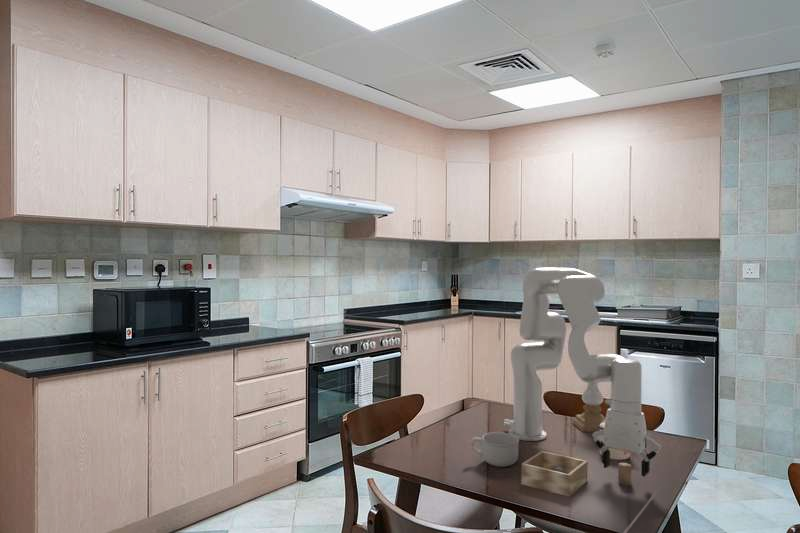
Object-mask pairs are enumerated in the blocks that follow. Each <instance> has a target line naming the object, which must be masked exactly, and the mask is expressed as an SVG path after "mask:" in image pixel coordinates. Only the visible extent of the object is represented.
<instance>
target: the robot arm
mask: <svg viewBox="0 0 800 533" xmlns="http://www.w3.org/2000/svg"><path fill="white" fill-rule="evenodd" d="M522 294H523V302H522V308H521V315H520V322H519V335H520V338H522V339H523V340H525V341H528V342H525V343H523V342H522V343H520V344H517V345H515V346H513V348H512V350H511V352H510V361H511V362H510V363H511V366H512V376H513V412H512V413H513V420H510V419H508V418H505V419H503V426H504V427H509V428H510V429H509V430H508V434H512V435H514V436H516V437H517V438H518V439H519V441H525V442H526V441H527V442H536V441H542V440H545V439H546V438H547V435H548V434H547V432H546V431H544V429H543V384H542V381H541V379H540V377H539V376H538V374H537V372H539V371H551V370H556V369H557V368H558V367H559V366H560V364H561V362H562V358H563V352H564V348H565V347H564V346H565V342H566V335H567V324H566V320H565V318H564V317H563V316H562V315H561V314H560V313H558V312H552V311H551V312H549V309H550V300H549V297H548V295H558V298H559V299H560V302H561V305H562V307H563V308H564V311H565V313H566V315H567V318H568V321H569V324H570V325H571V331H570V333H569V336H568V340H567V341H568V343H567V353H568V357H569V360H570V363H571V365H572V367H573V369H574V371H575V374H576V375H577V376H578V378H579V379H580V380H581V381H582V382H584V383H587V384H588V383H597V382H599V383H607V382H608V383H610V398H605V400H604V402H605V405H608V406H609V408H607V410H606V414H605V418H606V419H605V428H604V429H603V430H600V431H597V432H592V438H593V440H594V442H595V445H596V446H597V447H598V449H599V451H600V450H601V452H602V455H601V462H602V464H603V468H604V469H605V468H606V469H607V468H608V467H609V466H610V464H611V459H610V451H609V448H612V449H616V450H621V451H626V452H630V454H631V453H632V454H639V456H640V457H641V458H642V460H641V476H642V477H647V475H648V474H649V473H650V472H651V471H650V470H651V469H650V467H651V466H650V464H651V463H650V461H651V460H652V459H653V458H654V457H656V455H658V453H659V452H660V450H661V448H662V445H661V444H659V442H657V441H656V440H654V439H652V438H651V437H649V436H648V435H647V424H646V418H645V413H644V412H642V364H641V363H640V362H639V361H638V360H635V359H632V358H626V357H624V356H622V355H620V354H615V353H606V354H605V353H604V354H603V353H602V354H601V353H600V354H590V352H589V351H588V349H587V347H586V342H585V335H586V334H587V333H588V332H590V331H591V330H594V329H595V328H596V327H598V325H599V324H600V322H601V316H600V314H599V311H598V309H597V306H596V305H595V304H596V303H599V302H601V301H602V300H603V299H604V296H605V285H604V283H603V282H602V281H601V279H600V278H599V277H597V276H596V275H594V274H591V273H588V272H585V271H582V270H580V269H576V268H573V267H572V268H571V267H536V268H532V269H529V271H527V272H526V274H525V275H524V277H523V281H522ZM602 435H604V443H603V442H602V441H601V440H600V436H602ZM648 445H650V446H651V447H652V448H653V449H652V451H650V452H649V451H648V450H647V447H648Z"/></svg>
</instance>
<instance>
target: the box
mask: <svg viewBox="0 0 800 533" xmlns="http://www.w3.org/2000/svg"><path fill="white" fill-rule="evenodd" d="M588 463H589V462H588V460H584V459H580V458H575V457H571V456H566V455H561V454H558V453H557V454H556V453H552V452H549V451H544V450H541V451H539V452H538V453H536V454H535V455H533V456H531V457H529V459H526V460H525V461H524V462H522V463H521V466H520V467H521V477H520V478H521V480H520V482H521V483H520V484H521V485H523V486H527V487H530V488H533V489H539V490H543V491H546V492H550V493H554V494H557V495H560V496H561V495H562V496H565V497H567V498H568V497H569V498H570V497H571V496H572V495H573V494H575V493H576V492H577V491H578V490H579V489H580V488H581V487H582V486H584V485H585V483H587V482H588V473H589V472H588V471H589V470H588ZM556 467H561V468H562V469H563V470H564V471H565V473H562V472H557V471H553V470H554V468H556Z"/></svg>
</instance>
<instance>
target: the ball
mask: <svg viewBox="0 0 800 533" xmlns="http://www.w3.org/2000/svg"><path fill="white" fill-rule="evenodd" d="M553 471H557V472H562V473H565V471H564V470H563V469H562V468H561V467H556V468H554V470H553Z"/></svg>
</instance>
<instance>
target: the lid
mask: <svg viewBox="0 0 800 533" xmlns="http://www.w3.org/2000/svg"><path fill="white" fill-rule="evenodd" d="M617 468H618V471H617V472H618V473H617V474H618V478H617V482H618V484H619V485H620V486H626V487H628V486H629V487H630V486H632V464H630V463H627V462H619V463H618V467H617Z"/></svg>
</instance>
